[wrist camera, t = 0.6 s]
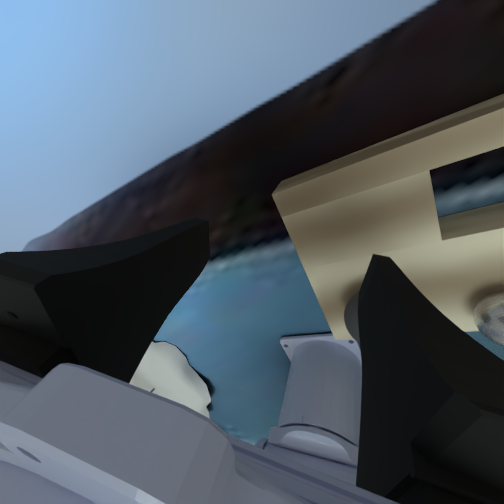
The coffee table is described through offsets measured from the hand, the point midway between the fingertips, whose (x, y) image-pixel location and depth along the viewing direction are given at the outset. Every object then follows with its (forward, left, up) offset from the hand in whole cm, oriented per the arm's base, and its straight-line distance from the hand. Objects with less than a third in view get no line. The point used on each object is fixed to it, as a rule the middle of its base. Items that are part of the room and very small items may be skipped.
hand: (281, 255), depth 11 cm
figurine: (-22, +33, -10) cm, 41 cm away
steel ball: (-10, -9, -5) cm, 15 cm away
